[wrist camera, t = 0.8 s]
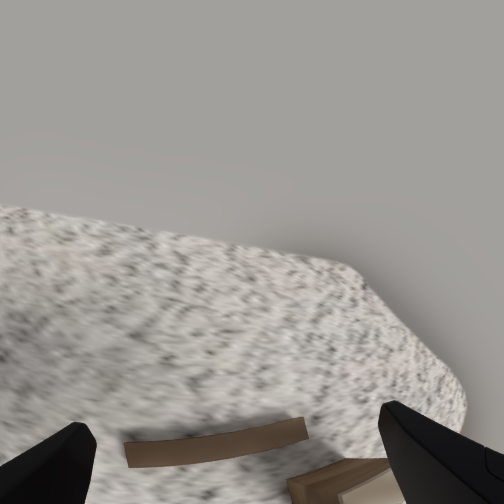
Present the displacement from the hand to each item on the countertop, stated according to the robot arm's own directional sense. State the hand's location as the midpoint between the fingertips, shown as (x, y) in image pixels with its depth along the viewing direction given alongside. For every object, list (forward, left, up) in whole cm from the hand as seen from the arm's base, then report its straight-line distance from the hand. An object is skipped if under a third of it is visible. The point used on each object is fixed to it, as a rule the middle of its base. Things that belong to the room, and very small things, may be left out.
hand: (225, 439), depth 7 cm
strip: (-1, -2, -16) cm, 16 cm away
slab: (-7, -10, -16) cm, 20 cm away
